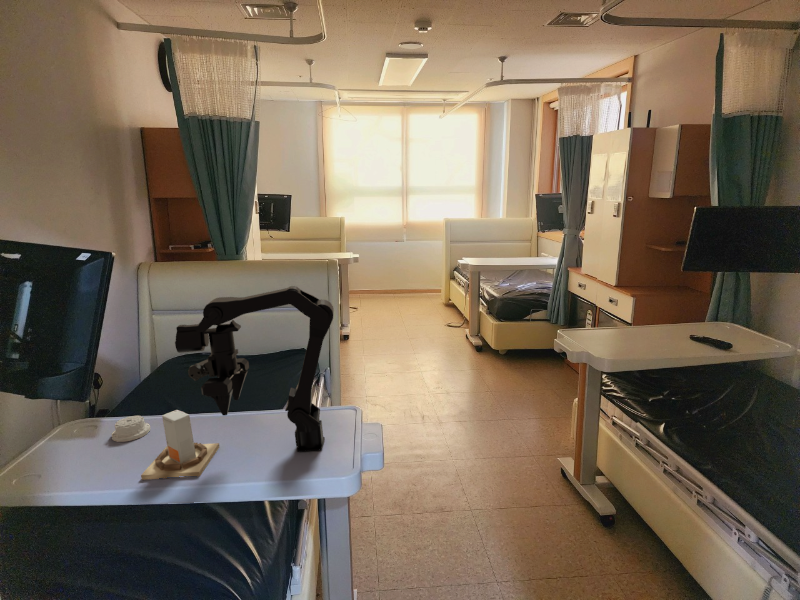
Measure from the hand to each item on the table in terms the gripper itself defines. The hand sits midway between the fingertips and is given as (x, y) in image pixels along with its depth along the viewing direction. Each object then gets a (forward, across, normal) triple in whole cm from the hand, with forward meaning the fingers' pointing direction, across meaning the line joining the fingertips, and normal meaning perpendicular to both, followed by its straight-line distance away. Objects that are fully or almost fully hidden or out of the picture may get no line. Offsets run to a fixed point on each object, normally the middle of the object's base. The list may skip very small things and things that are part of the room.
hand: (230, 407), depth 127 cm
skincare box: (+12, +3, -13) cm, 18 cm away
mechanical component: (+14, -16, -35) cm, 41 cm away
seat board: (+13, +3, -13) cm, 19 cm away
